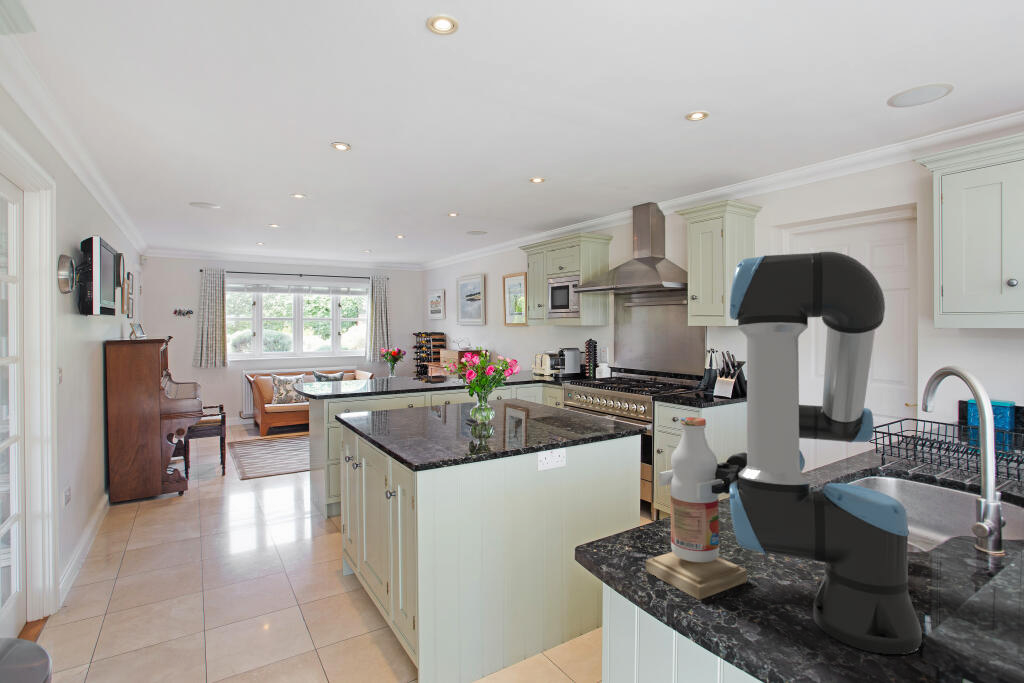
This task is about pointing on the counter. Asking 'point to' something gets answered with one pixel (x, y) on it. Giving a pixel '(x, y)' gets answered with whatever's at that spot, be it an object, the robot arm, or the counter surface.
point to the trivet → (696, 574)
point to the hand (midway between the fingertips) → (678, 485)
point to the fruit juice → (693, 496)
